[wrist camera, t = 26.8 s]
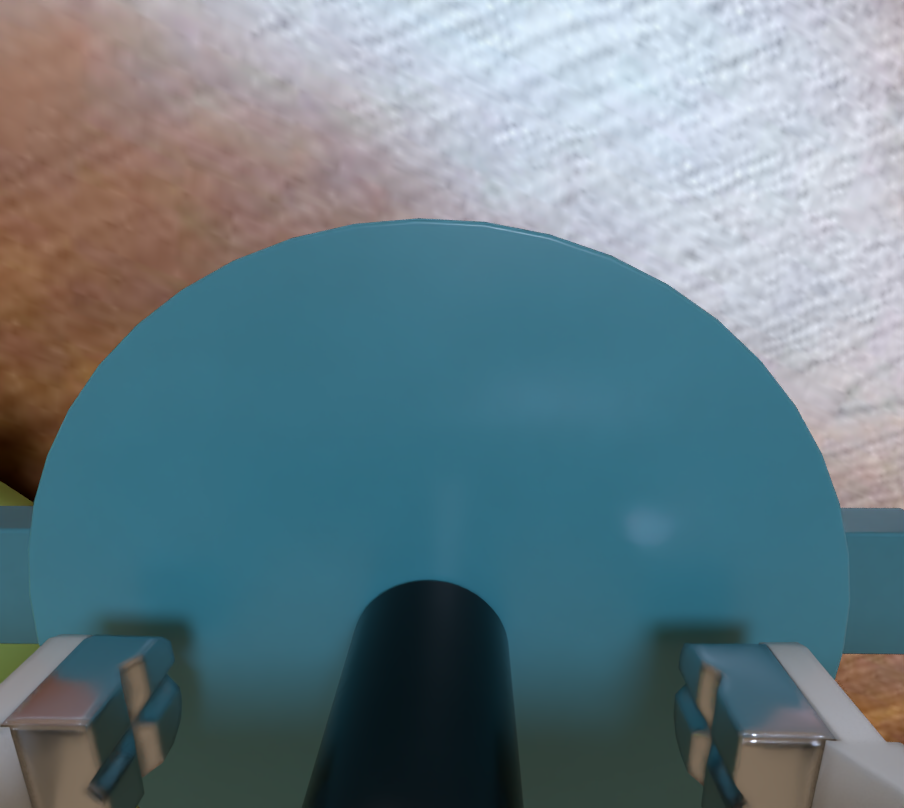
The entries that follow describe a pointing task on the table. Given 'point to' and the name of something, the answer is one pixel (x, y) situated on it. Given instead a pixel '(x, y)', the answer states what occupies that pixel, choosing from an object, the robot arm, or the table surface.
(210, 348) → the lid
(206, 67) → the table surface
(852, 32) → the table surface
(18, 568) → the pot
